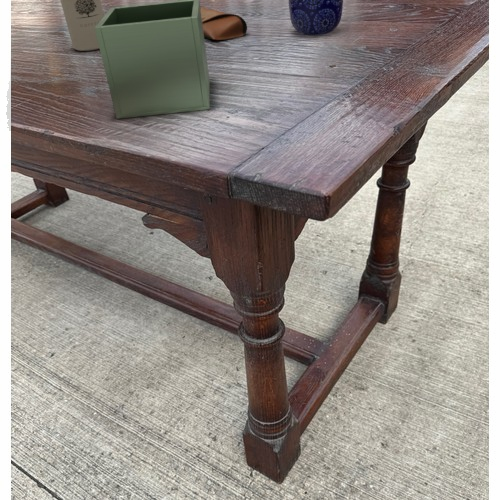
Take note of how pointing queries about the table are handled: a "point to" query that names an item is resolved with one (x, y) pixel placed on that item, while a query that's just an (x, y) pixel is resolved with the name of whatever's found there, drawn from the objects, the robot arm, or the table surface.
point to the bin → (155, 58)
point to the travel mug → (83, 22)
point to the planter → (315, 15)
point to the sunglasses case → (222, 25)
